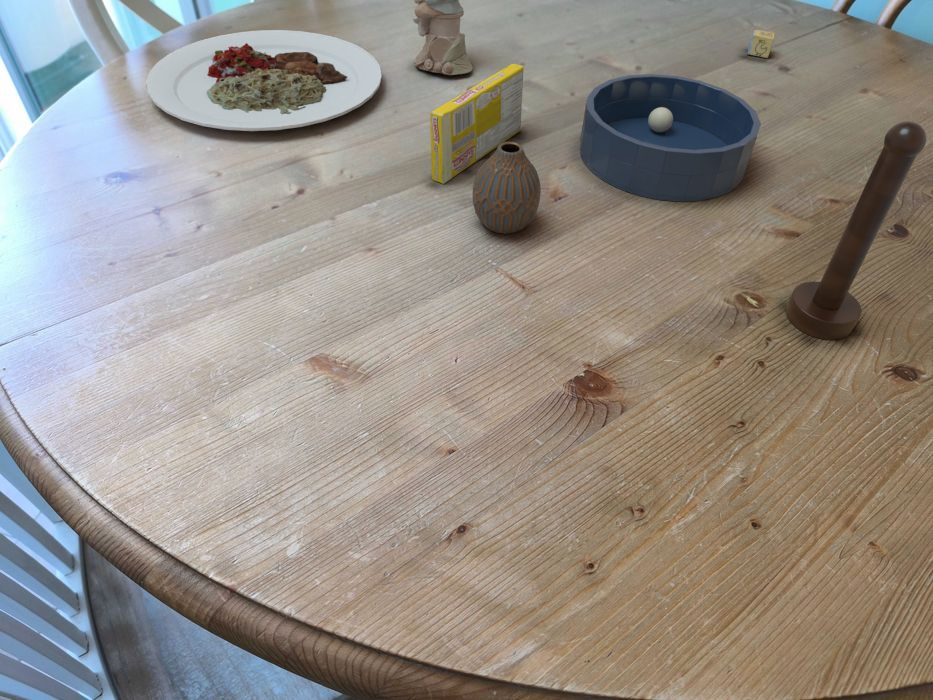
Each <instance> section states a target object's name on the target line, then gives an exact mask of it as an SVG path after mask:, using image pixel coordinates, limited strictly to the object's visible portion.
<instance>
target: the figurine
mask: <svg viewBox="0 0 933 700" xmlns="http://www.w3.org/2000/svg"><path fill="white" fill-rule="evenodd" d="M413 1H414V3H415V4H417V5H416V7H415V9H414V15H415V17H413V18H412V21H413V23H415V24H416V25H417V32H418V35H419V36H420V37H423V38H424V37H425V42H424V44H423V46H422V49H421V50H420V51H419V53H418V54H417V56H416V57H415V59H414V63H413V64H414V67H416V68H418V69H419V70H423V71H427V72H431V73H434V74H440V75H447V76H455V75H456V76H457V75H463V74H464V75H465V74H468V73H470V72H472V70H474V69H473V65H472V64H471V62H470V59H469V56H468V52H467V47H466V34H464V33H461V18H462V17H463V16H464V14H465V10H464V7H463V6H462V5H461V3H460V0H413Z"/></svg>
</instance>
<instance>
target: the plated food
mask: <svg viewBox="0 0 933 700" xmlns="http://www.w3.org/2000/svg"><path fill="white" fill-rule="evenodd" d="M382 79H383V75H382V69H381V65H380V64H379V62H378V61H377V59H376V58H375V57H374V56H373V55H372V54H370V52H368V51H367V50H366V49H364V48H362V47H361V46H358V45H356V44H355V43H353V42H351V41H348V40H344V39H341V38H340V37H335V36H331V35H327V34H322V33H317V32H309V31H303V30H302V31H301V30H287V29H286V30H285V29H266V30H265V29H262V30H259V29H258V30H249V31H240V32H233V33H226V34H221V35H216V36H212V37H209V38H205V39H201V40H197V41H195V42H192V43H188V44H186V45H184V46H182V47H179V48H178V49H176V50H174V51H172V52H170V53H168V54H167V55H165V56H164V57H163V58H161V59H159V61H157V62H156V63H155V64H154V65H153V67H152V68H150V70H149V72H148V75H147V78H146V80H145V82H146V83H145V84H146V90H147V95H148V96H149V98H150V99H151V101H152V102H153V103H154V105H155V106H157V107H158V108H159V109H161V110H162V111H163V112H165V114H168V115H170V116H172V117H174V118H177V119H179V120H181V121H184V122H187V123H191V124H195V125H198V126H201V127H207V128H213V129H219V130H227V131H243V132H261V131H281V130H287V129H294V128H302V127H306V126H307V127H308V126H311V125H315V124H320V123H323V122H327V121H330V120H332V119H335V118H338V117H342V116H344V115H346V114H348V113H350V112H352V111H354V110H355V109H358V108H359V107H361V106H362V105H364V104H365V103H366V102H368V101H369V100H371V99H372V98H373V96H374V95H375V94H376V93H377V91H378V90H379V89H380V86H381V82H382Z"/></svg>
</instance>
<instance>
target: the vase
mask: <svg viewBox="0 0 933 700" xmlns="http://www.w3.org/2000/svg"><path fill="white" fill-rule="evenodd" d="M541 189H542V188H541V180H540V176H539V174H538V171H537V169H536V167H535V166H534V165H533V164H532V162H531V160H530V159H529V158H528V157H527V155H526V153H525V151H524V147H523V146H522V145H521V144H520V143H518V142H515V141H505V142H503V143H501V144H500V145H499V146H498V147H496V150H495V151H494V153H492V155H491V156H489V158H487V159H486V160H485V162H484V163H483V164H482V165H481V166H480V168H479V169H478V171H477V173H476V176H475V178H474V181H473V186H472V205H473V209H474V212H475V215H476V217H477V218H478V220H479V221H480V223H482V225H483V226H485V227H486V228H487V229H489V230H490V231H492V232H494V233H497V234H503V235H509V234H515V233H517V232H519V231H521V230H522V229H524V228H526V227H527V226H528V225H529V224H530V223H531V222H532V220H533V219H534V218H535V216H536V214H537V212H538V209H539V206H540V201H541V194H542V191H541Z"/></svg>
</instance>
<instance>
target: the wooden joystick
mask: <svg viewBox="0 0 933 700" xmlns="http://www.w3.org/2000/svg"><path fill="white" fill-rule="evenodd" d="M926 143H927V132H926V130H925V129H924V127H923V126H922V125H920V123H917V122H915V121H909V120H907V121H901V122H897V123H896V124H894V125H893V126H891V128H889V129H888V131H886V133H885V136H884V139H883V147H882V149H881V151H880V153H879V155H878V157H877V160H876V162H875V164H874V166H873V168H872V170H871V172H870V175H869V177H868V178H867V181H866V183H865V185H864V187H863V190H862V192H861V194H860V196H859V198H858V200H857V203H856V205H855V207H854V208H853V209H854V210H853V211H852V213H851V216H850V217H849V220H848V222H847V224H846V226H845V228H844V231H843V232H842V235H841V237H840V239H839V241H838V243H837V246H836V248H835V249H834V252H833V254H832V255H831V256H832V257H831V258H830V260H829V263H828V265H827V267H826V269H825V271H824V273H823V275H822V278H821V279H820V281H805V282H802V283H799V284H797V286H795V287H794V288H793V291H792V293H791V295H790V296H789V299H788V302H787V303H786V307H785V315H786V317H787V319H788V321H789V322H790V324H791V325H793V326H794V327H795V328H796V329H798V330H799V331H800V332H802V333H804V334H806V335H808V336H810V337H814V338H816V339H820V340H827V341H828V340H829V341H834V340H841V339H845V338H846V337H848V336H850V334H851V333H852V332H853V330H854V328H855V327H856V324H857V323H858V321H859V319H860V317H861V315H862V307H861V304H860V302H859V301H858V300H857V298H856V297H855V296H854V295H853V294H852V293H850V292H849V291H850V288H851V286H852V284H853V283H854V281H855V279H856V276H857V274H858V273H859V271H860V269H861V267H862V264H863V263H864V261H865V259H866V257H867V254H868V253H869V251H870V248H871V247H872V246H873V243H874V241H875V239H876V237H877V235H878V233H879V231H880V229H881V227H882V225H883V224H884V221H885V219H886V217H887V216H888V213H889V211H890V209H891V207H892V205H893V203H894V201H895V200H896V197H897V195H898V193H899V191H900V189H901V187H902V185H903V184H904V181H905V179H906V177H907V176H908V174H909V171H910V170H911V167H912V165H913V163H914V162H915V160H916V157H917V156H918V155H919V154H920V153H921V152H922V151H923V149H924V148H925V146H926Z"/></svg>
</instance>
